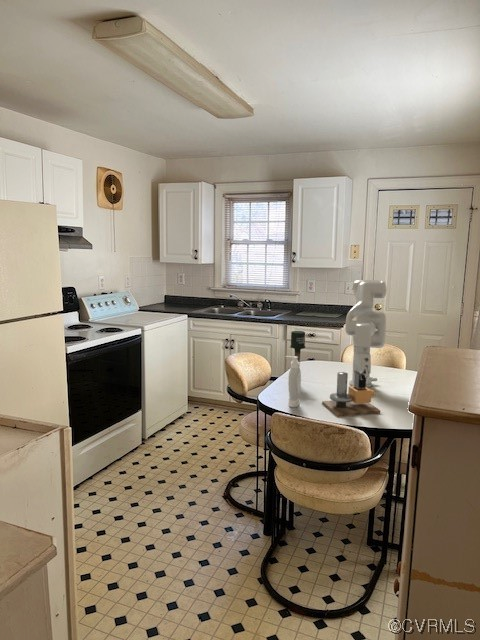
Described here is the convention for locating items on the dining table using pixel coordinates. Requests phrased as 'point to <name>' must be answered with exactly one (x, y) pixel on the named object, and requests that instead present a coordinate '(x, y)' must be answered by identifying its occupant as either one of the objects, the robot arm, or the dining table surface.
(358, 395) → the orange open box
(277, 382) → the dining table surface
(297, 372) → the soap bottle
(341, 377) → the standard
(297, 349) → the potato masher grenade
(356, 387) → the dark gray block
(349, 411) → the base plate
